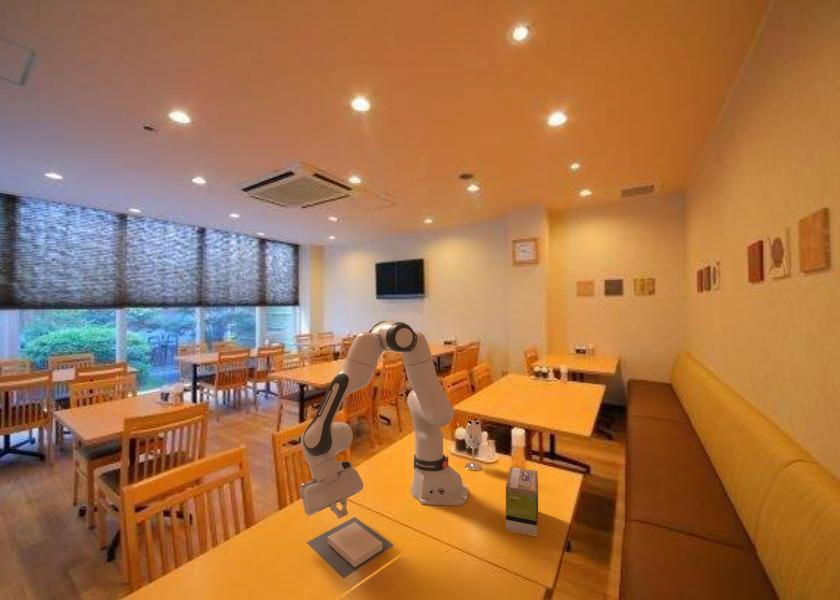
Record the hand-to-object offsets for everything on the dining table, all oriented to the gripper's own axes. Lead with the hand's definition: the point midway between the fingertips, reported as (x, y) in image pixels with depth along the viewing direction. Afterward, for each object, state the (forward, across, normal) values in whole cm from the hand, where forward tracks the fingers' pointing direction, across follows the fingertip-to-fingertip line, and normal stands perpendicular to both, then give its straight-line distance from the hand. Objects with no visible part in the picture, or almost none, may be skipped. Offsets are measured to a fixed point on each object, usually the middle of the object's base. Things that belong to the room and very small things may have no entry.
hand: (343, 516), depth 111 cm
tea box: (+30, +48, -20) cm, 61 cm away
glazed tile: (+3, 0, +4) cm, 5 cm away
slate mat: (+8, 0, +3) cm, 8 cm away
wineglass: (+6, +69, +5) cm, 69 cm away
